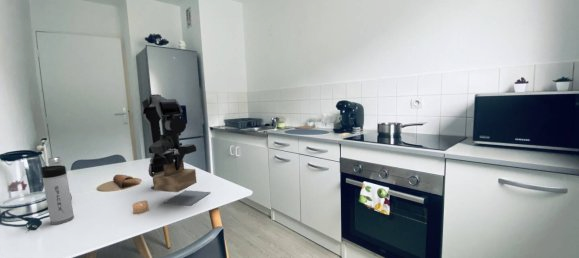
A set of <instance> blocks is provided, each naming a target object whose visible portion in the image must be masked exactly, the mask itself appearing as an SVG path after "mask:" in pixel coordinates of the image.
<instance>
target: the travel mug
mask: <svg viewBox="0 0 579 258" xmlns="http://www.w3.org/2000/svg"><path fill="white" fill-rule="evenodd" d="M65 167H66V166H65V165H64V166H61V165H56V166H49V165H45V166H41V167H40V171H41V175H42V181H43V182H42V183H43V189H44V193H45V199H46V204H47V209H48V216H49V221H50V224H51V225H54V224H55V225H61V224H64V222H65V223H67V221H68V222H69V221H71V220H73V219H74V218H75V215H74V210H73V209H74V208H73V203H72V202H73V201H71V196H72V195H71V196H70V193H71V192H70V186H69V185H70V184H69V179H68V172H67V173H66V169H67V167H66V168H65ZM60 223H61V224H60Z"/></svg>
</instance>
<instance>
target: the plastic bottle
mask: <svg viewBox="0 0 579 258" xmlns="http://www.w3.org/2000/svg"><path fill="white" fill-rule="evenodd" d="M61 162H62V160H61V156H55V157H49V158H47V164H48V166H56V165H61V166H65V165H64V164H62V163H61ZM65 168H66V173H67V174H68V170H67V167H66V166H65ZM70 196H71V202H73V196H72V193H71V192H70Z"/></svg>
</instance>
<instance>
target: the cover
mask: <svg viewBox="0 0 579 258" xmlns="http://www.w3.org/2000/svg"><path fill="white" fill-rule="evenodd" d="M153 181H154V185H153V186H154V188H153V190H154V191H157V192H168V193H179V192H182V191H183V190H185V189H186V188H187V189H188V188H190V186H193V185H195V184H197V173H196V169H195V168H185V165H184V160H182V162H181V165H180V168H179V170H176V168H175V161H174V162H172V163H169V164H166V165H164V172H162V173H160V174H157V175H154V176H153V177H152V182H153Z"/></svg>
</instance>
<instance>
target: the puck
mask: <svg viewBox="0 0 579 258" xmlns="http://www.w3.org/2000/svg"><path fill="white" fill-rule="evenodd" d="M131 206H132V212H133V214H134V215H140V214H143V213H146V212H148V211H149V202H148V201H147V200H141V201H136V202H134V203H133V204H132V205H131Z"/></svg>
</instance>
